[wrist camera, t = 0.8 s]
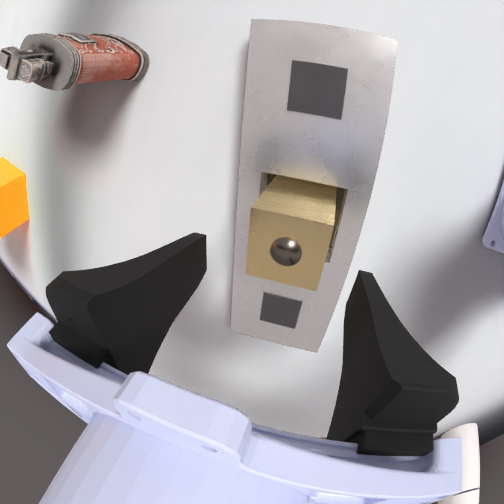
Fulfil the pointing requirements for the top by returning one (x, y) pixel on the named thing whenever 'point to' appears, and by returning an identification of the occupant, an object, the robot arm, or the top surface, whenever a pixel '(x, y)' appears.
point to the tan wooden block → (291, 231)
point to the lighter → (74, 59)
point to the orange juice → (12, 197)
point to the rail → (308, 157)
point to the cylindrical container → (466, 465)
